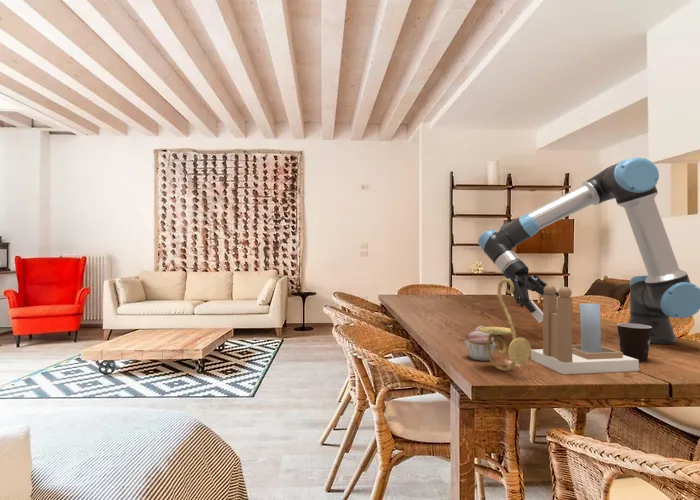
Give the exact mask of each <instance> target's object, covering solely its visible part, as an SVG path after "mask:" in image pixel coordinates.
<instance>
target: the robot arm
mask: <svg viewBox="0 0 700 500" xmlns="http://www.w3.org/2000/svg"><path fill="white" fill-rule="evenodd" d="M659 178H660V172H659V169H658V167H657V166H656V164H655V163H654V162H653V161H651V160H650V159H647V158H644V157H637V156H635V157H631V158H626V159H624V160H622V161H619V162H617V163H614V164H613V165H609V166H607V167H606V168H605V169H603V170H602V171H600V172H598V173H597V174H595V175H594V176H592V177H591V178H588V179H587V180H585V181H583V182H582V184H581V186H579V187H577V188H575V189H573V190H571V191H569V192H567V193H565V194H563V195H561V196H559V197H557V198H555V199H553V200H551V201H548V202H547V203H545V204H543V205H541V206H539V207H536V208H534V209H533V210H531V211H529V212H527V213H525V214H523V215H521V216H518V217H517V218H514V219H513V220H511V221H508V222H506V223H504V224H501V226H500V227H499V229H498V231H496V230H495V229H492V228H490V229H489V230H486V231H484V232H483V233H481V234H480V236H479V237H478V240H477V242H478V244H477V245H479V247H480V248H481V249H482V251H483V252H484V254H485V255H486V256H487V257H488V259H490V260H491V261H492V263H493V264H494V265H495V266H496V267H497V269H498V271H500V272H501V274H503V276H504V278H505V279H506V278H507V279H510V280H511V281H512V282H513V284H514V291H513V293H512V295H513V297H514V300H515V303H516V304H517V305H519V307H521V308H523V307H525V308H526V309H527V311H529V313H530V314H531V315H532V317H534V319H535V320H536V321H537V322H538V324H540V323H543V310H541V308H540V307H538V305H537V304H536V303H535V302H534V301H533V300H532V299H531V300H530V297H529V296H530V295H529V291H531V292H536V293H537V294H539V295H540V296H542V297H543V294H545V293H544V287H545V286H546V285H548V283H546V282H545V281H544V280H542V279H541V278H540V277H539V276H538V275H537V274H534V275H533V276H531V275H530V274H529V270H530V269H529V267H528V266H527V265H526V263H524V261H523V260H521V258H520V256H519V255H517V254H516V252H515V251H514V250H513V249H514V248H515V247H517V246H519V245H520V244H522V243H524V242H525V241H527V240H528V239H530V238H533V236H535V235H536V234H537V233H539V231H540V230H541V229H545V228H546V227H548V226H550V225H552V224H554V223H556V222H559V221H561V220H562V219H565V218H566V217H568V216H570V215H572V214H575V213H577V212H579V211H581V210H583V209H585V208H587V207H589V206H591V205H593V206H598V205H599V204H602V203H604V202H606V201H610V200H614V199H615V201H616V203H617V204H616V205H617V206H620V207H621V208H624V211H625V214H626V216H627V219H628V223H629V224H630V228H631V230H632V233H633V236H634V240H635V242H636V244H637V248H638V250H639V253H640V256H641V259H642V262H643V264H644V267H645V270H646V273H647V275H636V276H632V277H631V278H630V283H629V308H630V309H629V310H630V311H629V314H630V315H629V320H628V322H627V323H632V324H642V325H648V326H651V327H652V330H651V338H650V344H655V345H656V344H658V345H661V344H662V345H670V344H676V342H677V336H676V334H675V333H674V328H673V326H672V323H671V321H670V320H671V318H673V319H678V318H679V319H685V318H690V317H693V316H694V315H696V314H697V313H699V311H700V287H699V286H697V285H696V284H695V283H692V282H691V279H690V278H689V275H688V273H687V271H685V270H683V269H681V268H680V266H679V264H678V261H677V258H676V257H675V256H676V255H675V253H674V251H673V248H672V246H671V242H670V240H669V236H668V233H667V231H666V228H665V225H664V222H663V220H662V216H661V215H660V212H659V209H658V207H657V203H656V201H655V198H656V197H657V195H658V193H659V192H658V189H657V184H658V181H659ZM506 283H507V285H508V286H509V287H510V284H509V283H508V282H506ZM510 289H511V287H510ZM554 295H557V312H558V297H560V296H559V294H558V290H556V293H555V294H554Z"/></svg>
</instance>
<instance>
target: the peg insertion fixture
mask: <svg viewBox="0 0 700 500" xmlns="http://www.w3.org/2000/svg"><path fill="white" fill-rule="evenodd" d="M556 291H557V292H558V294H559V296H558V311H557V295H554V294H555V293H556ZM544 293H545V294H543V296H542V312H543V321H542V348H539V349H538V348H537V349H532V348H531V354H530V360H531V361H532V362H535V363H537V364H539V365H542V366H544V367H546V368H549V369H550V370H553V371H556V372H557V373H559V374H562V375H578V374H579V375H581V374H584V375H585V374H603V373H621V372H625V373H626V372H627V373H628V372H639V371H640V369H639V368H640V367H639V364H640V362H639V360H638V359H634V358H631V357H628V356H625V355H623V352H621V351H619V350H615V349H613V348H610V347H606V346H603V345H601V349H602V352H599V353H587V352H585V351H582V350H581V344H573V297H572V294H573V292H572V290H571V288H569V287H568V286H561V287H560V288H559V289H558V290H557V289H556V287H555V285H553V284H547V285H546V286H545V287H544Z"/></svg>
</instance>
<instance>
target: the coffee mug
mask: <svg viewBox="0 0 700 500" xmlns="http://www.w3.org/2000/svg"><path fill="white" fill-rule="evenodd" d="M616 327H617V334H618V342H619V350H620V351H619V352H623V355H625V356H628V357H631V358H634V359H638V360H639V363H646V362H648V360H649V359H648V358H649V351H650V344H651V343H650V338H651V330H652V327H651V326H648V325H642V324H632V323H628V322H624V323H623V322H622V323H621V322H620V323H617V324H616Z"/></svg>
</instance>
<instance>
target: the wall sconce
mask: <svg viewBox="0 0 700 500" xmlns="http://www.w3.org/2000/svg"><path fill="white" fill-rule="evenodd" d="M507 282H508V283H509V284H510V286H509V287H511V288H510V289H509V288H508V287H507V288H506V289H505V290H506V291H505V292H506V293H507V294H509V295H511V294H513V291H514V284H513V282H512V281H511V280H510V279H507V278H506V277H505V278H503V279H501V280H500V281H499V283H498V284H497V297H498V298H497V299H498V300H499V303H500V305H501V308H502V310H503V312H504V314H505V316H506V319H507V322H508V324H509V327H503V326H483V327H482V328H479V330H480V331H481V332H484V333H488V334H490V335H489V337H488V340H487V354H488V357H489V359H490V360H489V361H490V363H491V364H492V365H493V367H495V368H496V369H498V370H500V371H501V372H502V371H503V372H508V371H511V370H512V369H513V368H514V367H515V365H516V364H517V365H522V364H524V363H526V362H527V361H528V360H529V359H530V358H531V350H532V347H531V344H530V341H528V340H527V339H526V338H525V337H517V334H516V333H517V332H516V330H515V325H514V323H513V320H512V317H511V315H510V313H509V310H508V307H507V305H506V303H505V301H504V298H503V295H502V287H503V285H504V283H507ZM508 283H507V284H508ZM505 335H511V338H512V341H511V342H510V343H509V345H508V343H507V340H506V338H504V336H505ZM492 337H493V338H494V340H495V341H494V343H496V344H495V346H496V347H498V348H499V345H500V342H499V340H501V342H502V344H503V349H501V348H500V349H497V351H498V352H499V353H500V354H503V355H504V354H506V353H508V357H509V359H510V360H511V363H510V364H509V365H508V366H506V367H503V366H500V365H499V364H498V363H497V362H496V361H495V360H494V358H493V356H492V355H491V351H490V342H491V339H492Z"/></svg>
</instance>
